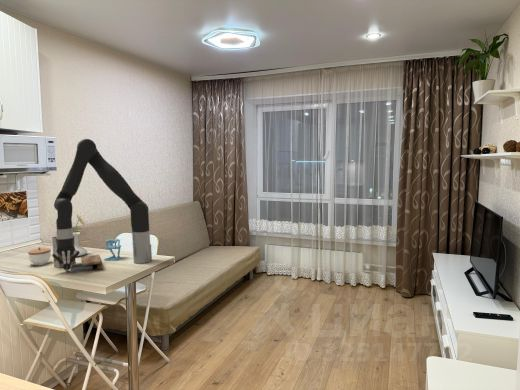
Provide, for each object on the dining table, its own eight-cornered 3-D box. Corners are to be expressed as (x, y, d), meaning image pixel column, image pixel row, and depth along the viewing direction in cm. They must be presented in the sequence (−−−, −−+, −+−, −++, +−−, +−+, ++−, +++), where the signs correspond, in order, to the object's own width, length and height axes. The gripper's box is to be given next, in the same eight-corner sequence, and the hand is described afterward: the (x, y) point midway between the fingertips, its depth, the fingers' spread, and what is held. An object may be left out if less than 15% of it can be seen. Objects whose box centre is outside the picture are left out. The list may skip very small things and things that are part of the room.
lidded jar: (56, 261, 206) (54, 245, 205) (40, 267, 196) (38, 250, 195) (41, 260, 209) (39, 244, 208) (24, 266, 199) (23, 249, 198)
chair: (123, 256, 214) (122, 236, 213) (117, 260, 206) (116, 239, 205) (110, 257, 215) (109, 236, 214) (104, 260, 206) (102, 239, 205)
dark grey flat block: (91, 265, 196) (91, 261, 196) (92, 269, 189) (92, 265, 189) (70, 268, 191) (70, 264, 191) (71, 272, 184) (70, 268, 184)
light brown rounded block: (99, 262, 202) (99, 254, 202) (102, 269, 188) (101, 261, 188) (81, 265, 198) (81, 256, 197) (83, 272, 184) (82, 263, 183)
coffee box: (58, 268, 193) (56, 238, 191) (53, 266, 197) (51, 237, 195) (76, 264, 200) (74, 235, 198) (71, 262, 204) (69, 234, 203)
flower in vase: (81, 257, 214) (78, 215, 211) (62, 258, 214) (59, 216, 212) (92, 252, 227) (89, 212, 224) (74, 252, 227) (71, 213, 225)
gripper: (79, 234, 192) (81, 266, 193) (50, 237, 186) (52, 270, 187) (79, 237, 185) (81, 270, 187) (49, 239, 179) (52, 274, 181)
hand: (67, 270), depth 187 cm, fingers closed
